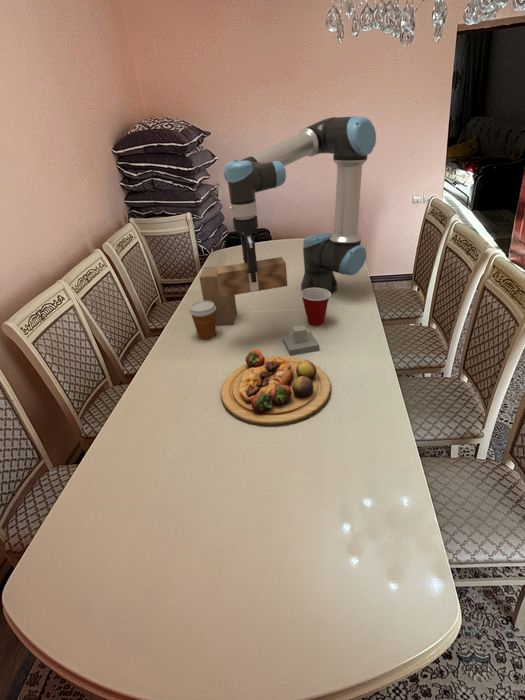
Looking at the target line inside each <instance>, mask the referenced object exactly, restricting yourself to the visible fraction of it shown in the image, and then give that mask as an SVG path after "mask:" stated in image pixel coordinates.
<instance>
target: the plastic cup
mask: <svg viewBox="0 0 525 700" xmlns="http://www.w3.org/2000/svg"><path fill="white" fill-rule="evenodd" d="M331 295H332V294H331V293H330V291H328V290H326V289H322V288H307V289H304V290H303V291H300V297H301V299H302V303H303V306H304V312H305V316H306V320H307V323H308V325H309V326H312V327H320V326H323V325H324V324H325V320H326V319H325V318H326V314H327V309H328V303H329V299H330V298H331Z"/></svg>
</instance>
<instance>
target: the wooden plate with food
mask: <svg viewBox="0 0 525 700" xmlns="http://www.w3.org/2000/svg"><path fill="white" fill-rule="evenodd" d="M331 392H332V384H331V381H330V378H329V376H328V375H327V373H326V372H325V371H324V370H323V369H322V368H320V366H318V365H317V364H315V363H314V362H312V361H310V360H307V359H303V358H300V357H295V356H290V355H289V356H288V355H287V356H286V355H276V356H275V355H274V356H273V355H272V356H265V357H264V355H263V353H262V352H261V351H260V350H258V349H256V348H255V349H252V350H251V351H249V353H248V354H247V355H246V357H245V363H244V364H242V365H240V366H239V367H237V368H236V369H234V370H233V371H232V372H231V373H230V374H229V375H228V376H226V378H225V380H224V381H223V383H222V386H221V389H220V400H221V402H222V405H223V407H224V408H225V410H226V411H227V412H228V413H229V415H231V416H233V417H234V418H236V419H237V420H240V421H242V422H244V423H247V424H251V425H254V426H255V425H256V426H261V427H281V426H287V425H292V424H296V423H300V422H302V421H305V420H307V419H309V418H312V416H314V415H316V414H317V413H318V412H320V411H321V410H322V409H323V408H324V407H325V406H326V404H327V403H328V401H329V399H330V396H331Z"/></svg>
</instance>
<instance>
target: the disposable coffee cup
mask: <svg viewBox="0 0 525 700" xmlns="http://www.w3.org/2000/svg"><path fill="white" fill-rule="evenodd" d="M215 310H216V306H215V305H214V303H213V302H211V301H203V300H199V301H196V302H194V303H192V304H190V306H189V314H190V315H191V318H192V320H193V323H194V326H195V330H196V333H197V335H198V338H199V339H200V340H210V339H213V338H215V337H216V335H217V332H216V331H217V329H216V327H217V325H216V323H215Z"/></svg>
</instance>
